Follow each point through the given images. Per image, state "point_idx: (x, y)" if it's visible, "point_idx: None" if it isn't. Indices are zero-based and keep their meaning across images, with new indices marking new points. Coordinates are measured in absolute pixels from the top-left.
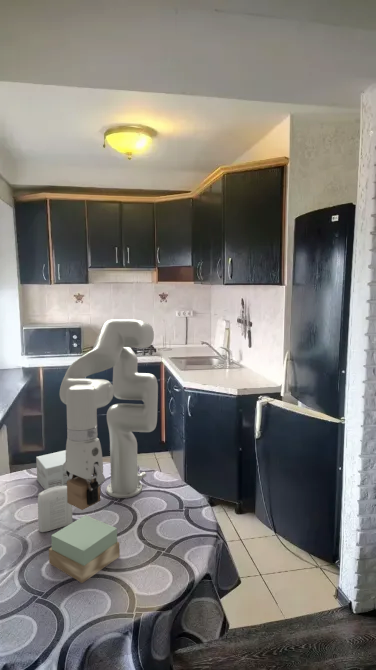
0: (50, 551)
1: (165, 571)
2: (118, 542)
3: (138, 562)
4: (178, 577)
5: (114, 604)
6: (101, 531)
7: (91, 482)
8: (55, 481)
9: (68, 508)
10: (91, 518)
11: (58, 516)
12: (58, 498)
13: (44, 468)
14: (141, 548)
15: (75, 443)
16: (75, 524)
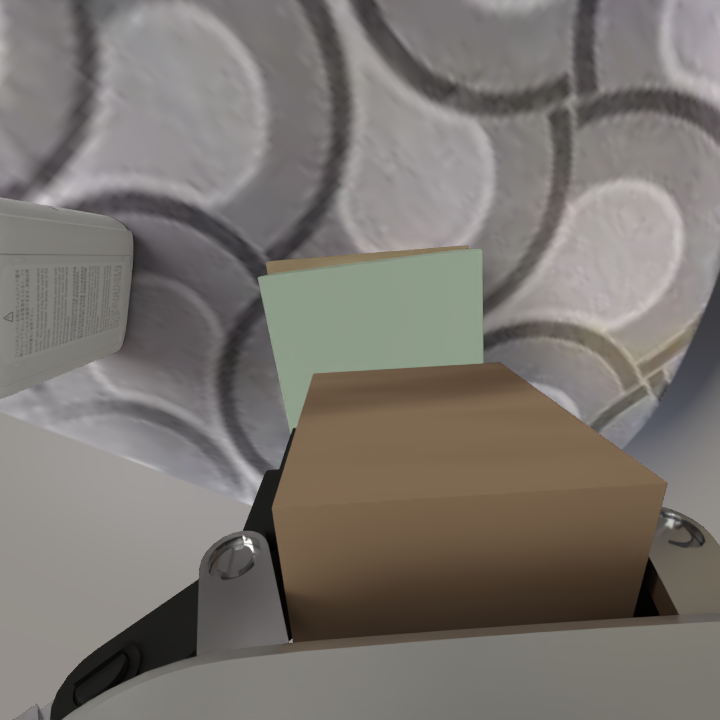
0: None
1: (638, 195)
2: (465, 247)
3: (528, 224)
4: (693, 189)
5: (580, 395)
6: (441, 318)
7: (623, 614)
8: None
9: (78, 246)
10: (310, 278)
11: (97, 297)
12: (14, 307)
13: None
14: (484, 151)
15: None
16: (299, 362)
